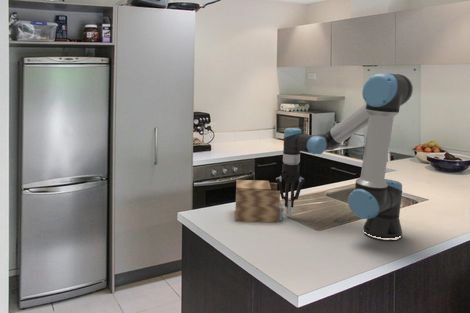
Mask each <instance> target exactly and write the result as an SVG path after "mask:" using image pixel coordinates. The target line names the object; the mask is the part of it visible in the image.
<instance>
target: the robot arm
mask: <svg viewBox="0 0 470 313" xmlns="http://www.w3.org/2000/svg"><path fill="white" fill-rule="evenodd" d="M413 90H414V87H413V83H412V81H411V80H410V79H409V78H408V77H407V76H406V75H403V74H400V73H389V72H388V73H387V72H381V73H376V74H373V75H372V76H370V77H369V78H368V79H367V80H366V81H365V83H364V84H363V87H362V90H361V91H362V92H361V94H362V99H363V100H364V102H365V104H363V105H362V106H361V107H359V108H358V109H356V110H355V111H354V112H352V113H351V114H349V115H348V116H347V117H345V118H344V119H343V120H341V121H339V123H337V124H336V125H335V126H333V127H331V129H329V130H327V131H326V132H325V133H320V134H305V133H304V134H303V132H302V129H301V128H297V127H287V128H285V129H284V132H283V138H282V139H283V150H282V162H283V163H282V167H281V169H282V170H281V174H280V176H279V177H276V178H275V181H276V182H277V186H278V188H279V191H280V199H282V200H283V201H284V206H285V208H286V215H287V216H291V215H292V214H291V213H292V208H294V206H295V204H294V202H295V200H298V199H299V196H300V193H301V191H302V187H303V184H304V183H305V178H303V177H302V176H301V175H300V164H299V163H300V162H301V152H303V153H307V154H313V155H322V154H323V153H324V152H327V151H334V150H335V149H338V148H339V147H340V146H341V144H343V142H344V141H346V140H348V139H349V138H351V137H352V136H353V135H355V134H356V133H358V132H359V131H361V130H362V129H364V128H366V127H367V129H366V137H365V141H364V142H365V144H364V150H363V158H362V165H361V172H360V177H358V178H357V179H355V185H354V190H352V191H351V192H350V194H349V195H348V198H347V204H348V207H349V210H351V212H352V214H354V215H355V216H356V217H358V218H359V219H363V220H365V222H364V225H363V228H362V229H363V230H364V232H366V233H367V234H370V235H372V236H376V237H381V238H395V237H399V236H401V235H402V236H403V230H402V228H403V227H402V224H401V221H400V213H401V205H402V204H401V203H402V197H403V196H402V194H403V184H402V182H400V181H398V180H392V179H388V178H387V179H386V178H385V176H386V171H387V170H386V169H387V163H388V157H389V152H390V144H391V136H392V131H393V123H394V118H395V116H397V115H398V114H399V113H400V109H401V108H400V107H401V106H403V105H404V104H407V103H408V101H409V100H410V99H411V97H412V94H413ZM282 180H283V182H284V184H285V188H284V190H283V185H282ZM297 182H298V184H297V188H296V191H295V186H296V183H297ZM290 185H291V186H290ZM289 187H290V188H289ZM289 190H290V198H289ZM284 194H285V195H284ZM363 230H362V231H363Z"/></svg>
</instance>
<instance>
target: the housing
mask: <svg viewBox="0 0 470 313" xmlns="http://www.w3.org/2000/svg"><path fill="white" fill-rule="evenodd" d="M235 185H236V186H235V212H234V213H235V218H234V219H235V220H234V221H235V222H246V221H249V222H252V223H258V222H259V223H278V222H280V221H279V206H280V202H281V194H280V190H278V182H277V183H276V182H270V181H269V180H259V179H258V180H257V179H255V180H254V179H253V180H252V179H236V184H235ZM249 222H248V223H249Z"/></svg>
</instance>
